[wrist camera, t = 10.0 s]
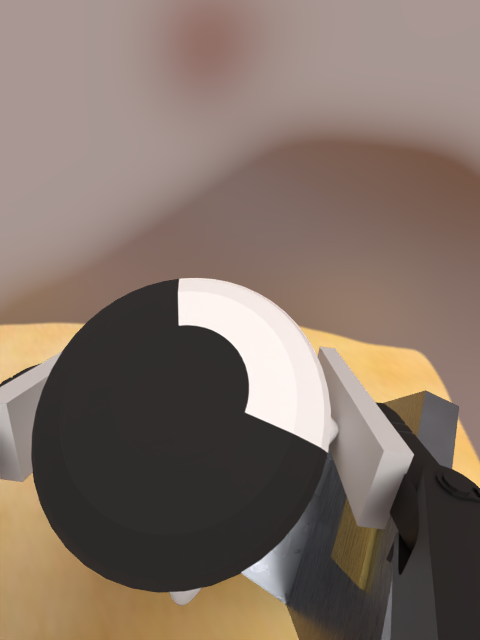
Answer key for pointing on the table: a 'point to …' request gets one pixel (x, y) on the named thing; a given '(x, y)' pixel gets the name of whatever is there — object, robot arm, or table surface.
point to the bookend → (348, 545)
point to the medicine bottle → (181, 435)
